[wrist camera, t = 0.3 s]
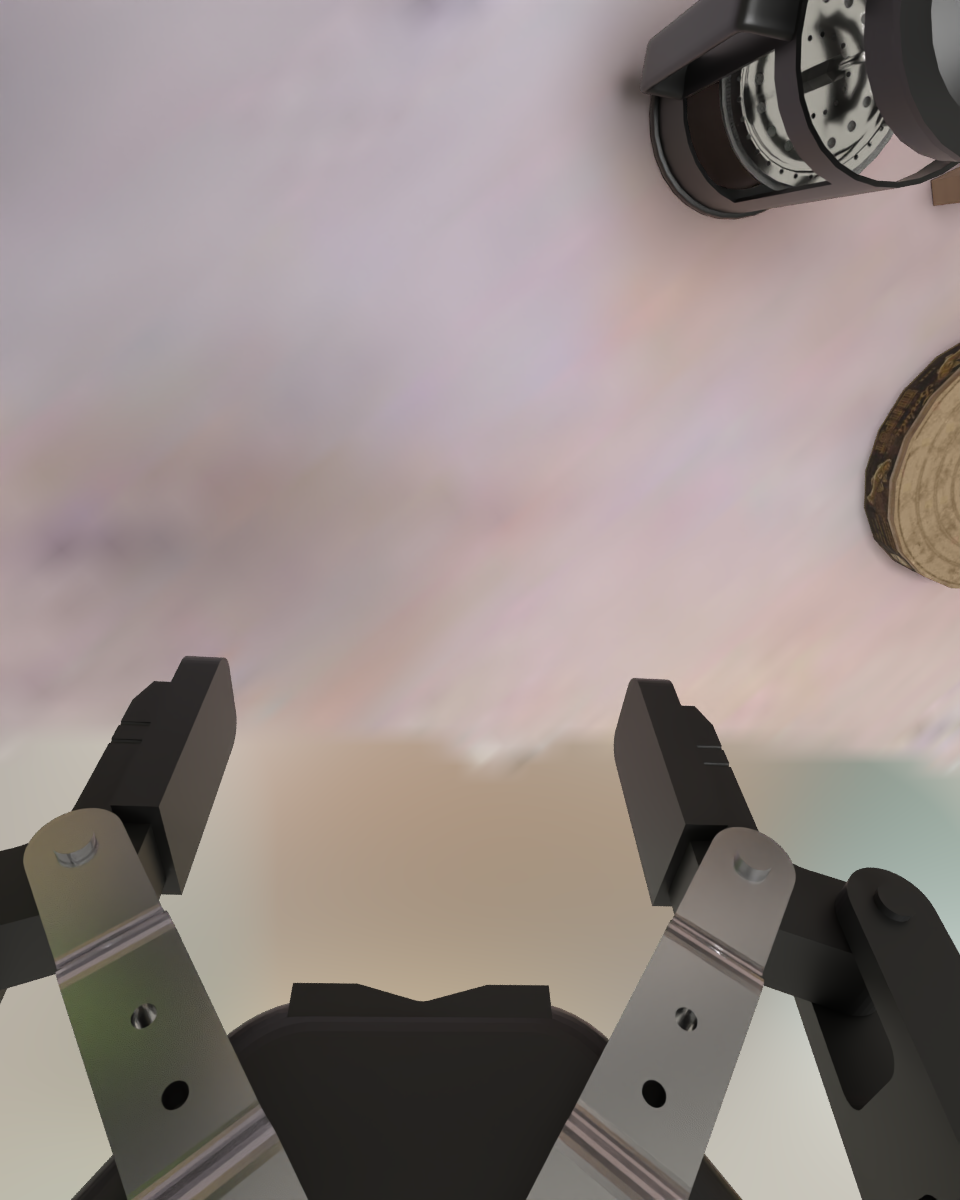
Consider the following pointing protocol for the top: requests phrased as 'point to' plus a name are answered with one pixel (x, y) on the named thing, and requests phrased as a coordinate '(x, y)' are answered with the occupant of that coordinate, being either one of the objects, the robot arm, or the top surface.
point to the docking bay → (946, 188)
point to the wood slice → (920, 474)
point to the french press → (806, 95)
